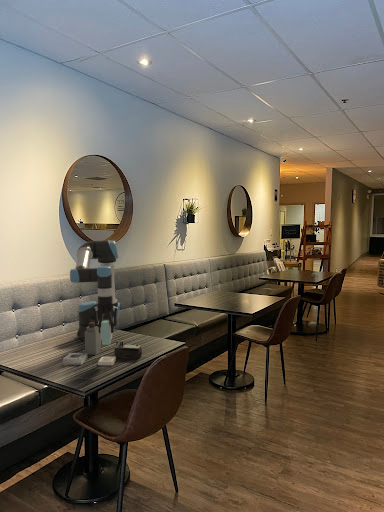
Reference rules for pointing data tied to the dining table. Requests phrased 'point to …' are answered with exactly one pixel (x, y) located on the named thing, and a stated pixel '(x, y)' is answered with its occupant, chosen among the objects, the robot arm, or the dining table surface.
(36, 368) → the dining table surface
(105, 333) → the plug
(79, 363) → the block
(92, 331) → the perfume bottle
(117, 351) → the camera
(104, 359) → the holster
